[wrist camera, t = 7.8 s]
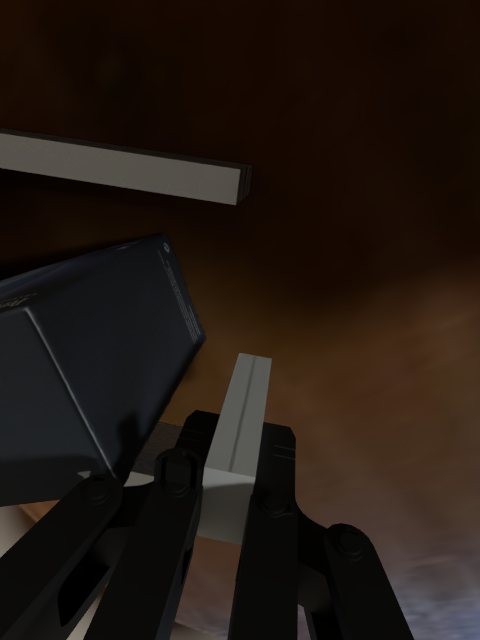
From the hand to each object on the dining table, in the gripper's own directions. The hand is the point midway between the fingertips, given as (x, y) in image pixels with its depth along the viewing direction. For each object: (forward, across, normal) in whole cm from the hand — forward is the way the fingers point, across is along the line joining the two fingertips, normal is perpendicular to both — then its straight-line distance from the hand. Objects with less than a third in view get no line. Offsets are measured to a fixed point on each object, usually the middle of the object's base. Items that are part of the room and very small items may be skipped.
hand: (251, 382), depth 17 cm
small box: (+4, -9, 0) cm, 10 cm away
